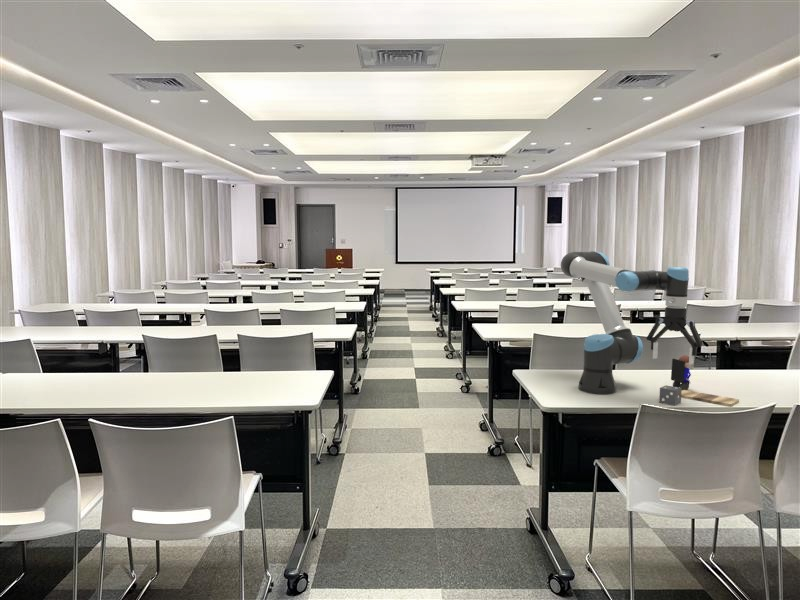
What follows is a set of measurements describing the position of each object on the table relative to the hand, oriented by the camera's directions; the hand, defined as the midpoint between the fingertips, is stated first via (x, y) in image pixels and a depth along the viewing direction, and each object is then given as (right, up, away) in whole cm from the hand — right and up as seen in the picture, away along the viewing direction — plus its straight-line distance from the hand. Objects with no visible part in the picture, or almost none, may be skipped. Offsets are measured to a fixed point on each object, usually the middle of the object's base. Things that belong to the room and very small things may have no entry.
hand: (672, 361), depth 227 cm
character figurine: (+13, -15, +21) cm, 29 cm away
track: (+17, -16, +7) cm, 24 cm away
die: (0, -17, +1) cm, 17 cm away
